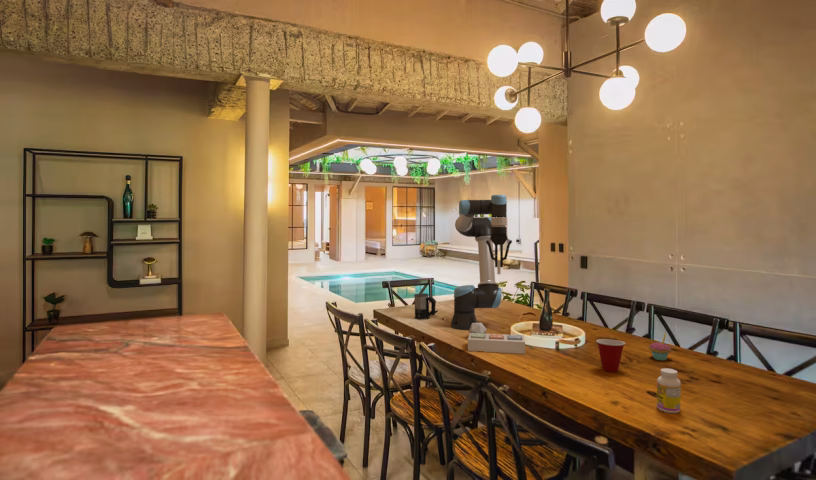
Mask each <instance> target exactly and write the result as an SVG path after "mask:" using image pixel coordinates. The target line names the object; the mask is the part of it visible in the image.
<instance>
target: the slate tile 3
mask: <svg viewBox="0 0 816 480" xmlns="http://www.w3.org/2000/svg"><path fill="white" fill-rule="evenodd" d="M507 335H508V340H522V338H521V335H522V334H507Z"/></svg>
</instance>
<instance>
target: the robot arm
mask: <svg viewBox="0 0 816 480" xmlns="http://www.w3.org/2000/svg"><path fill="white" fill-rule="evenodd" d="M507 200H508V199H507V195H506V194H492V195H491V196H490V199H462V200H459V201H458V213H459V216H458V217H457V218H456V220H455V223H454V226H455V230H456V231H457V232H458V233H459V234H460V235H462V236H463V237H464V236H465V237H468V238H474V240H475V242H476V243H477V246H478V249H477V251H478V269H479V283H477V287H475V285H474V284H473V285H472V284H465V285H460V286H456V287H455V288H454V289H453V298H454V299H453V310H454V311H453V312H454V313H453V315H452V318H451V322H450V327H451V328H452V329H456V330H464V331H465V330H467V331H469V330H470V327H471V324H472V323H479V322H478V319H477V317H476V312H475V310H476V309H497V308H499V307H500V306H501V302H502V288H501V287H500V286H499V283H498V282H496V274H497V275H501V272H502V271H501V268H503V267H504V261H506V260H507V258H508V256H509V255H508V254H509V250H510V247H511V246H510V245H511V244H512V243H513V240H511V239H510V238H508V235H507V234H508V232H507V229H508V228H507V225H508V224H507V223H508V221H507V219H508V218H507V213H508V212H507V207H508V205H507V204H508V201H507ZM475 215H490V216H489V217H488V216H481V217H479V216H478V217H475ZM505 243H506V248H505V253H504V248H503V247H504V246H503V245H504V244H505ZM498 246H499V247H500V248H499V252H500V255H499V256H500V260H498V257H499V256H498ZM495 268H497V272H495Z"/></svg>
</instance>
